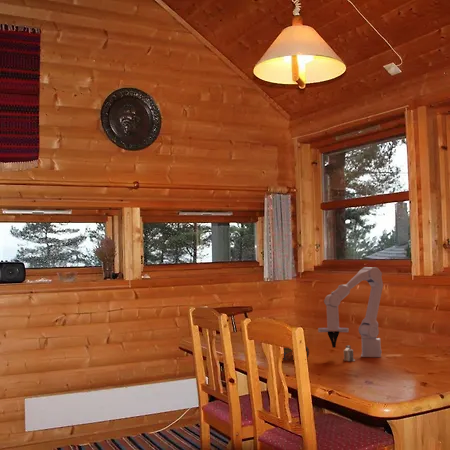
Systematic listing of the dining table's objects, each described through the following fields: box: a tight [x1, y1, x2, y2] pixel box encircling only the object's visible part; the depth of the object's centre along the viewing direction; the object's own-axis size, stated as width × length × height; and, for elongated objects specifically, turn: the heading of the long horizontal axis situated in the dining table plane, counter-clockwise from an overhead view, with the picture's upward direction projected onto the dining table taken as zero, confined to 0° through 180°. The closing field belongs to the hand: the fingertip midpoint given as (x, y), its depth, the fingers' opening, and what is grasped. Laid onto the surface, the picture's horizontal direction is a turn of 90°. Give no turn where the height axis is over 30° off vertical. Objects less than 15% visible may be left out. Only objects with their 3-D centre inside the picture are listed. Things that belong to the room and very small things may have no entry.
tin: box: [282, 345, 310, 361], centre depth 302 cm, size 15×3×8 cm, turn 62°
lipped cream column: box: [343, 347, 349, 362], centre depth 301 cm, size 10×2×5 cm, turn 163°
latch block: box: [347, 348, 356, 363], centre depth 297 cm, size 3×5×5 cm, turn 165°
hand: (334, 347), depth 302 cm, fingers closed
